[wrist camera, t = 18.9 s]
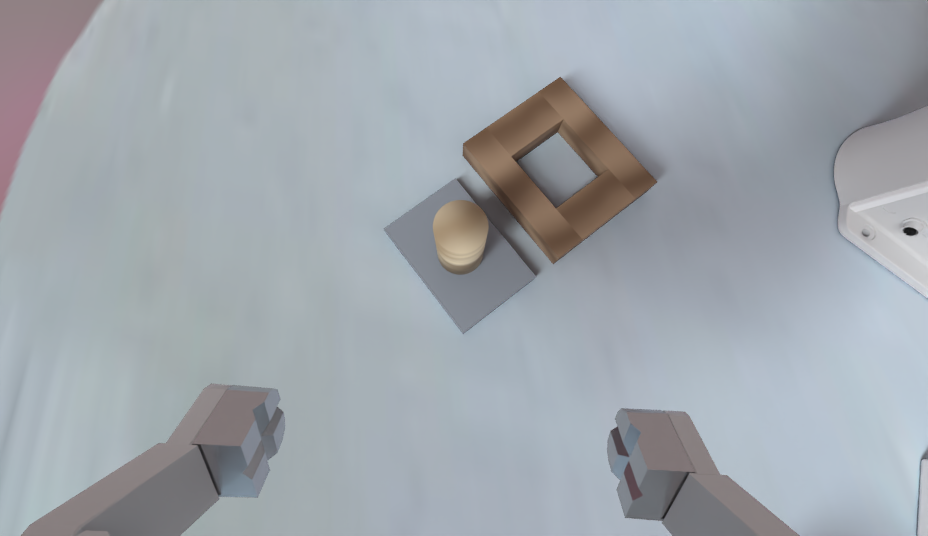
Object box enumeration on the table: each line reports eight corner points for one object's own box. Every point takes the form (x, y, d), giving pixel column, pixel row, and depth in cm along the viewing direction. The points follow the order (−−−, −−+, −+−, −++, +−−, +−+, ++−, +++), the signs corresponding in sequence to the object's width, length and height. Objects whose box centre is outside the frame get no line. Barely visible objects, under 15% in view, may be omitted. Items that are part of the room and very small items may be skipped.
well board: (646, 191, 46) (657, 181, 44) (553, 264, 44) (559, 257, 41) (554, 91, 48) (560, 76, 46) (462, 155, 46) (463, 143, 44)
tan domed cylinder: (492, 257, 43) (499, 231, 35) (455, 283, 42) (454, 263, 34) (465, 222, 44) (466, 189, 36) (428, 247, 43) (421, 220, 35)
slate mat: (534, 278, 44) (536, 276, 43) (463, 334, 42) (463, 333, 41) (455, 182, 46) (455, 178, 45) (385, 231, 44) (383, 228, 43)
